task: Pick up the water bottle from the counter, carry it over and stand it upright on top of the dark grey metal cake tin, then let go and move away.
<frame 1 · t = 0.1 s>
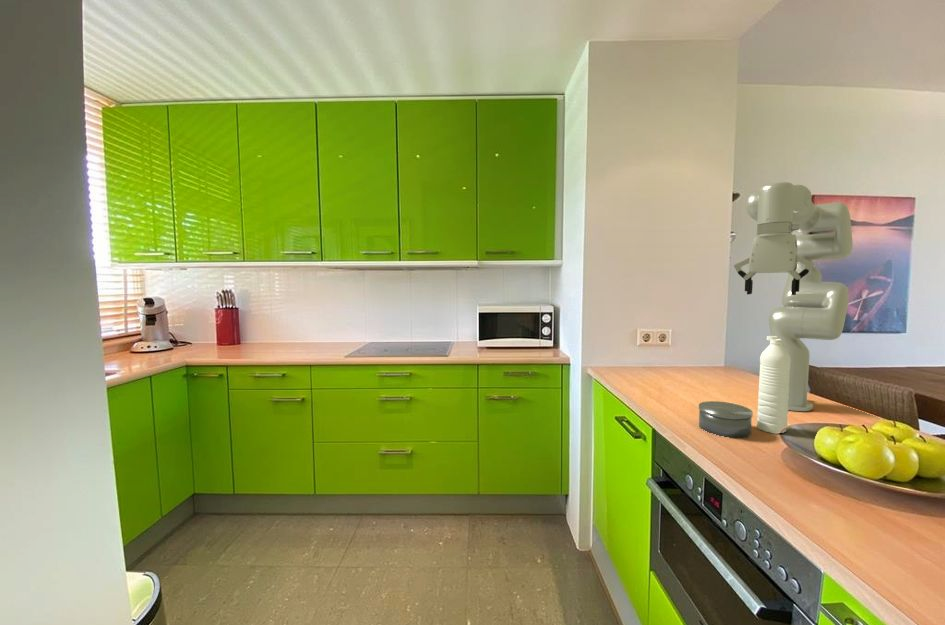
hand: (770, 294, 106), 37 cm above the counter, tool pointing down, fingers open, 9 cm apart
cake tin: (724, 429, 107), on the counter
water bottle: (770, 428, 107), on the counter
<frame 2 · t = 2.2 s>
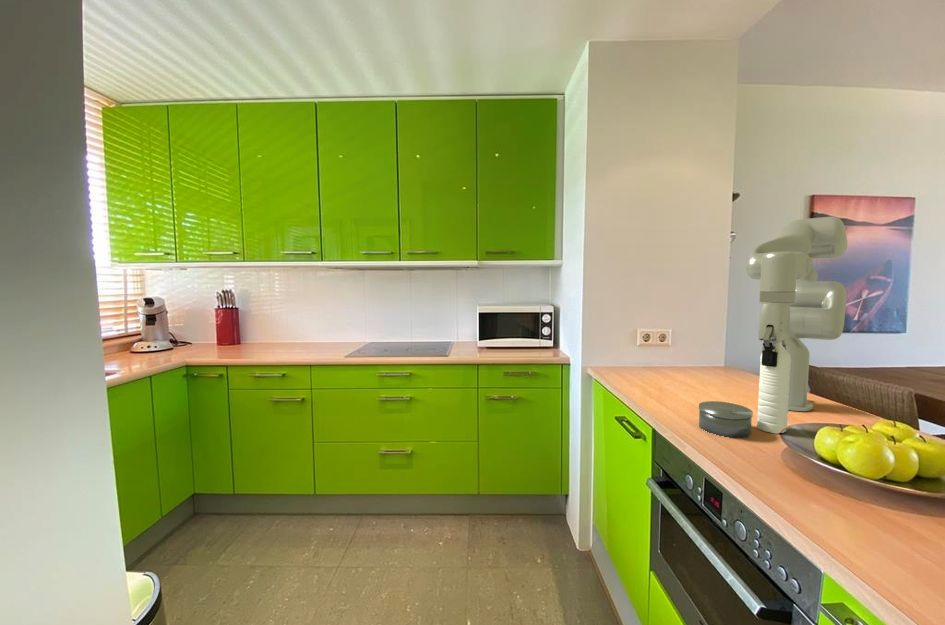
hand: (773, 363, 105), 18 cm above the counter, tool pointing down, fingers open, 7 cm apart
water bottle: (770, 428, 107), on the counter, touching gripper
everything else where it was.
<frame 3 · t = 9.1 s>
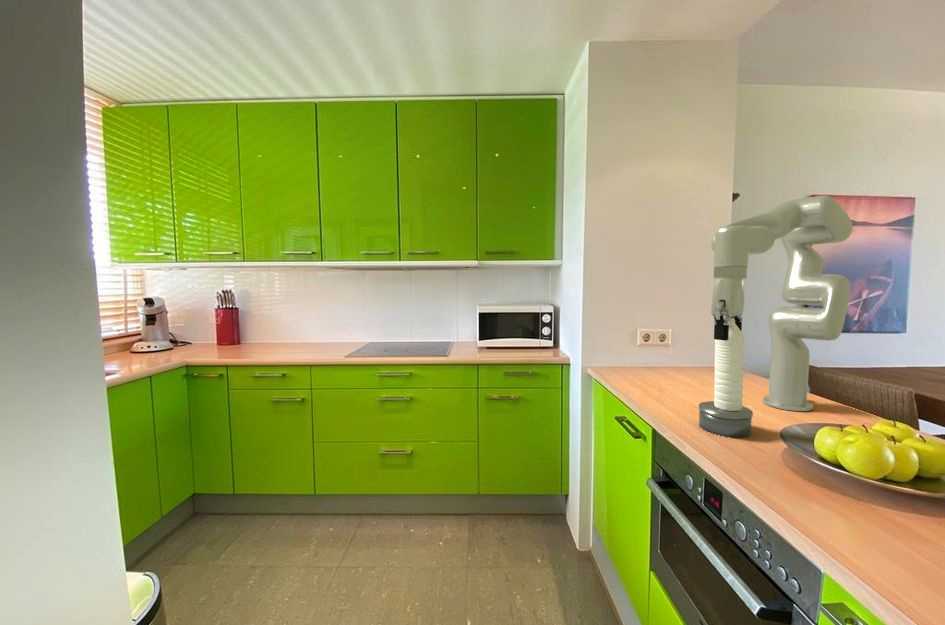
hand: (727, 337, 104), 25 cm above the counter, tool pointing down, fingers open, 9 cm apart
water bottle: (727, 406, 108), point 6 cm above the counter, touching gripper
everything else where it was.
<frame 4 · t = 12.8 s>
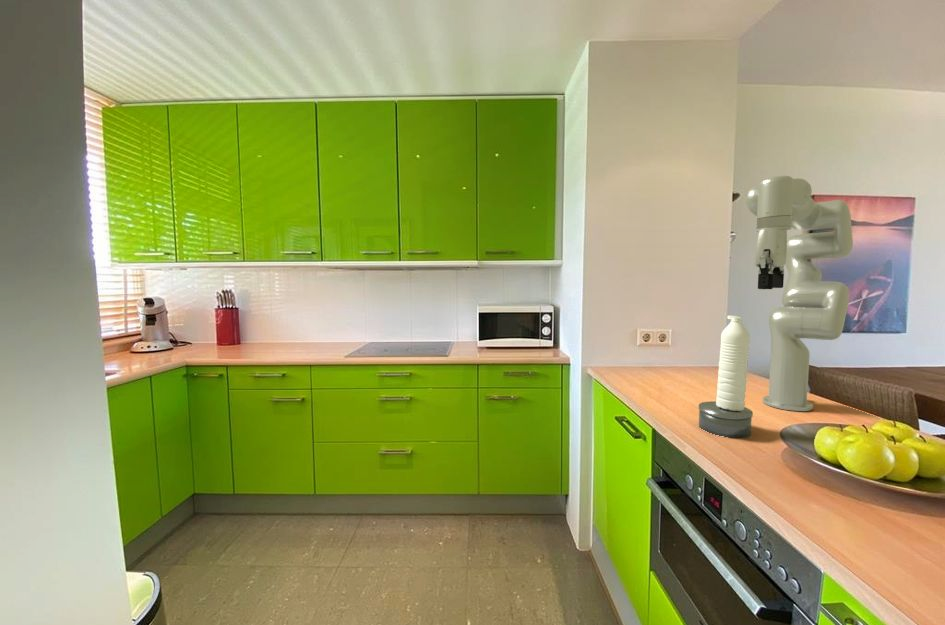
hand: (770, 288, 106), 38 cm above the counter, tool pointing down, fingers open, 9 cm apart
cake tin: (724, 429, 107), on the counter, touching water bottle
water bottle: (728, 407, 107), point 6 cm above the counter, touching cake tin
at the end: water bottle inside the target area on the cake tin (2.4 cm from its centre), point 5.9 cm above the cake tin's base; water bottle tilted 1°; the gripper is holding nothing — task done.
